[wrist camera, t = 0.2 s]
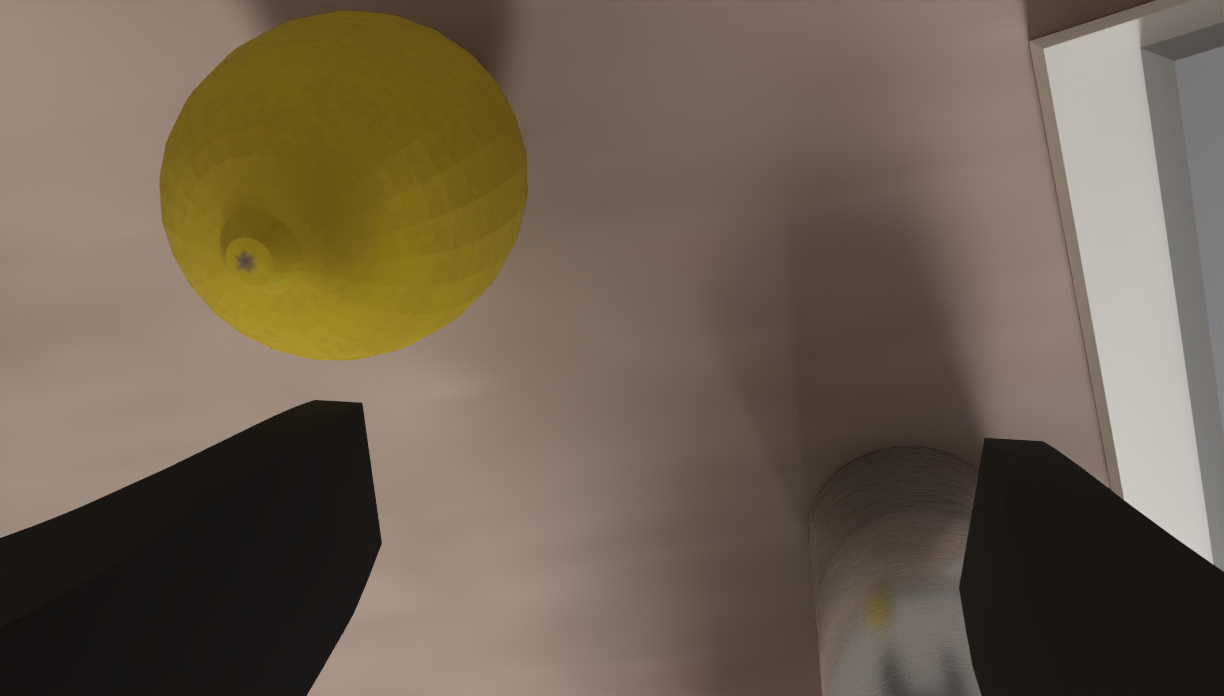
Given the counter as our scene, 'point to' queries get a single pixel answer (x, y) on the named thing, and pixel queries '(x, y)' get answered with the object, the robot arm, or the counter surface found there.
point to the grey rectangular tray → (1148, 246)
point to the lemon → (343, 185)
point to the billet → (893, 575)
